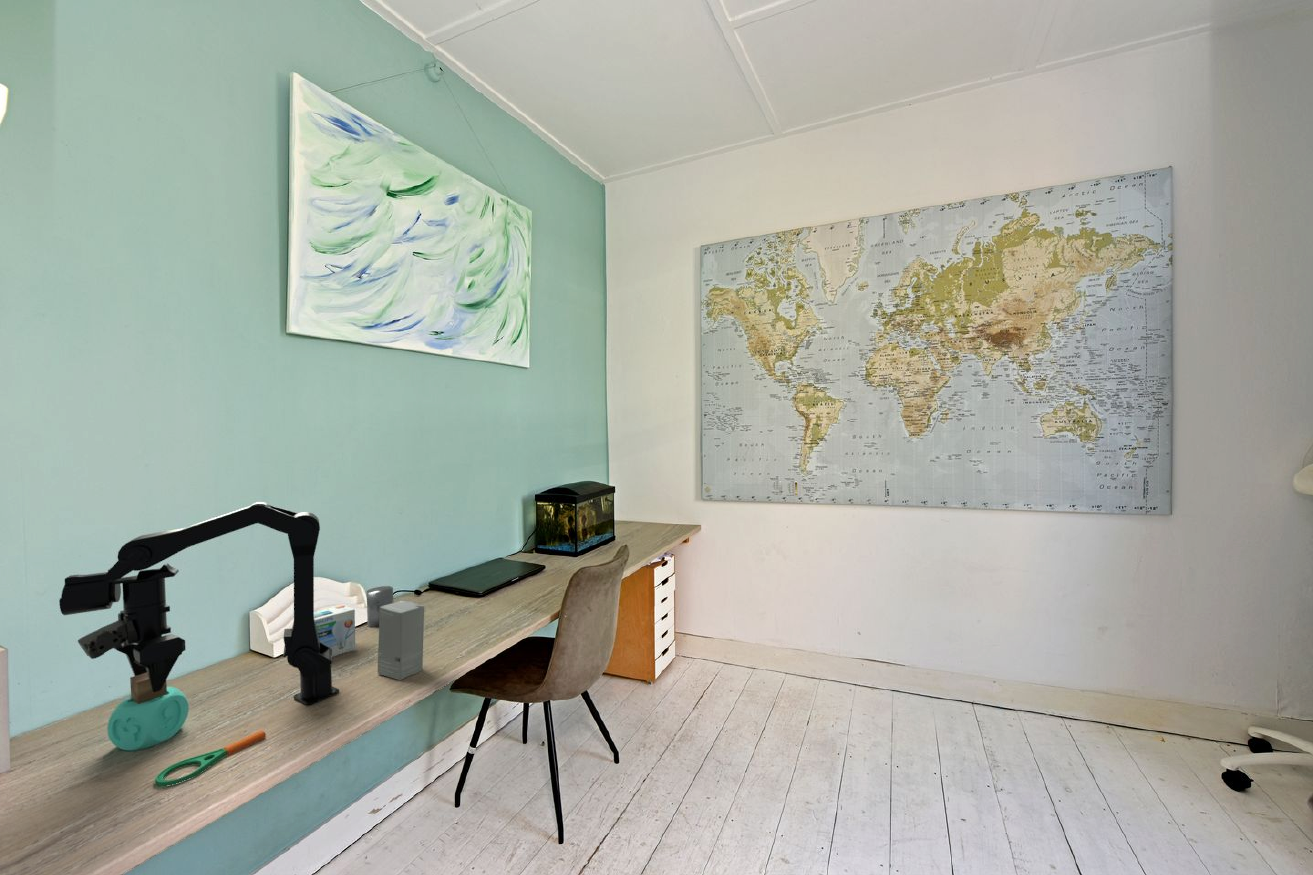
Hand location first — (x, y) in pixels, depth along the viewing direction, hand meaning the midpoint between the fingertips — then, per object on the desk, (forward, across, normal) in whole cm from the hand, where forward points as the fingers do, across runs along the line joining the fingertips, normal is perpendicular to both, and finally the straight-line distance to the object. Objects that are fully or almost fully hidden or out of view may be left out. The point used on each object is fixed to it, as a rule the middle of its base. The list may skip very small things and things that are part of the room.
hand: (148, 685), depth 99 cm
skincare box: (+10, +17, +40) cm, 45 cm away
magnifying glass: (+11, +19, +3) cm, 22 cm away
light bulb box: (+10, -10, +37) cm, 40 cm away
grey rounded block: (+10, -19, +56) cm, 60 cm away
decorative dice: (+10, 0, 0) cm, 10 cm away
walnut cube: (+2, 0, 0) cm, 2 cm away
